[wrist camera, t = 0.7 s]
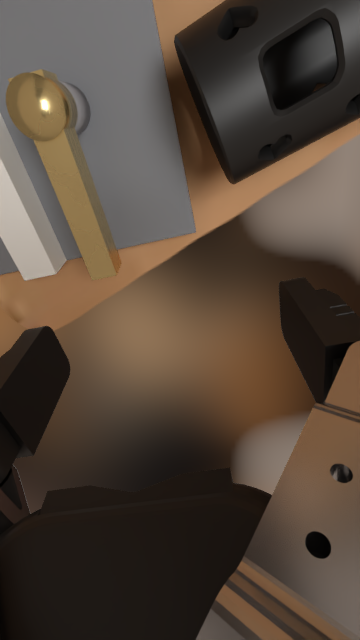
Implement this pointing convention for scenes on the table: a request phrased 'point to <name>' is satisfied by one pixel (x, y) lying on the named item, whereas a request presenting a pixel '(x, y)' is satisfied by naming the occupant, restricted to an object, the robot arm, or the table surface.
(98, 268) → the swing bar
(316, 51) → the muzzle brake
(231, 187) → the table surface
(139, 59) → the lock board
